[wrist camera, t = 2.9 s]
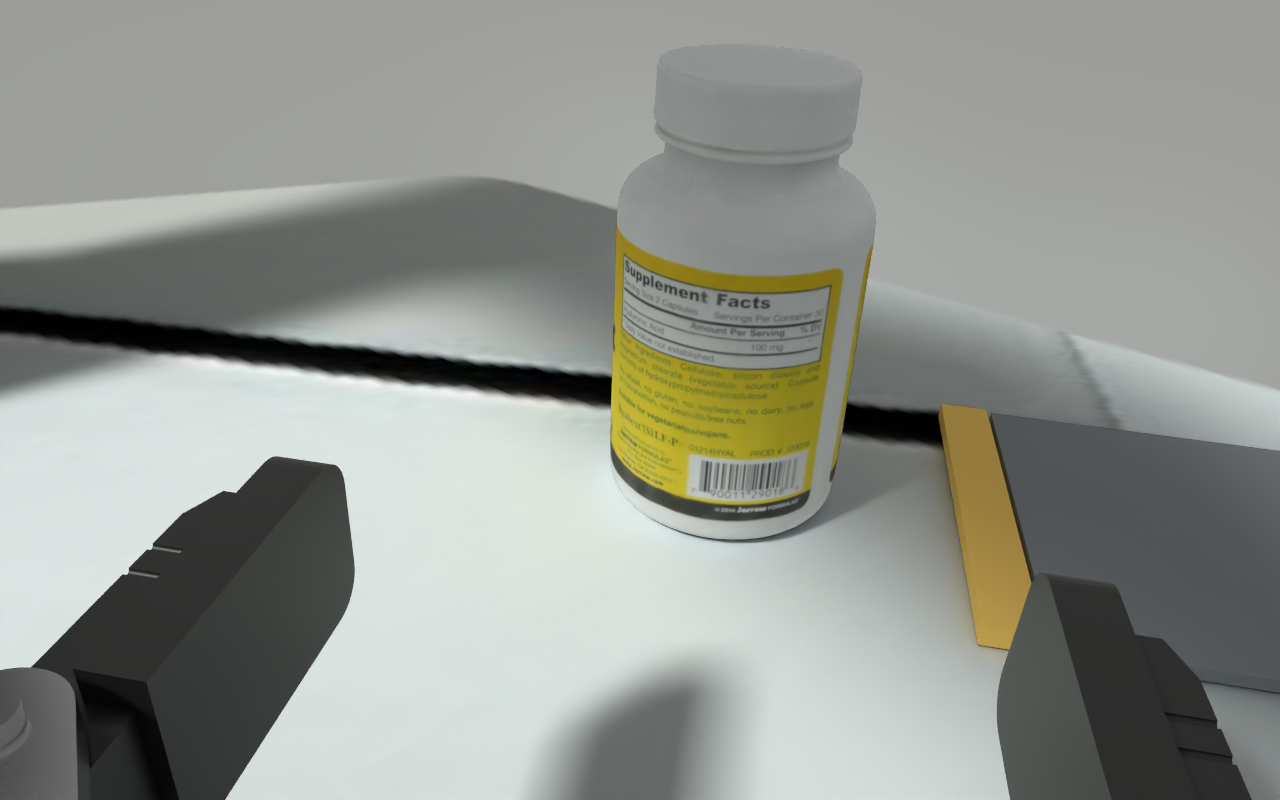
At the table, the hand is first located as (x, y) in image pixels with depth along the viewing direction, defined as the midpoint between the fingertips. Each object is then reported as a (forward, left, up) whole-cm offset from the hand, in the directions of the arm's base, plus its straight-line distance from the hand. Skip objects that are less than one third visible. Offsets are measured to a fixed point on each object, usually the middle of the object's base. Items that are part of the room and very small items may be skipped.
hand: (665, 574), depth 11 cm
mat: (+11, +11, -6) cm, 17 cm away
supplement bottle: (0, +11, -6) cm, 13 cm away
